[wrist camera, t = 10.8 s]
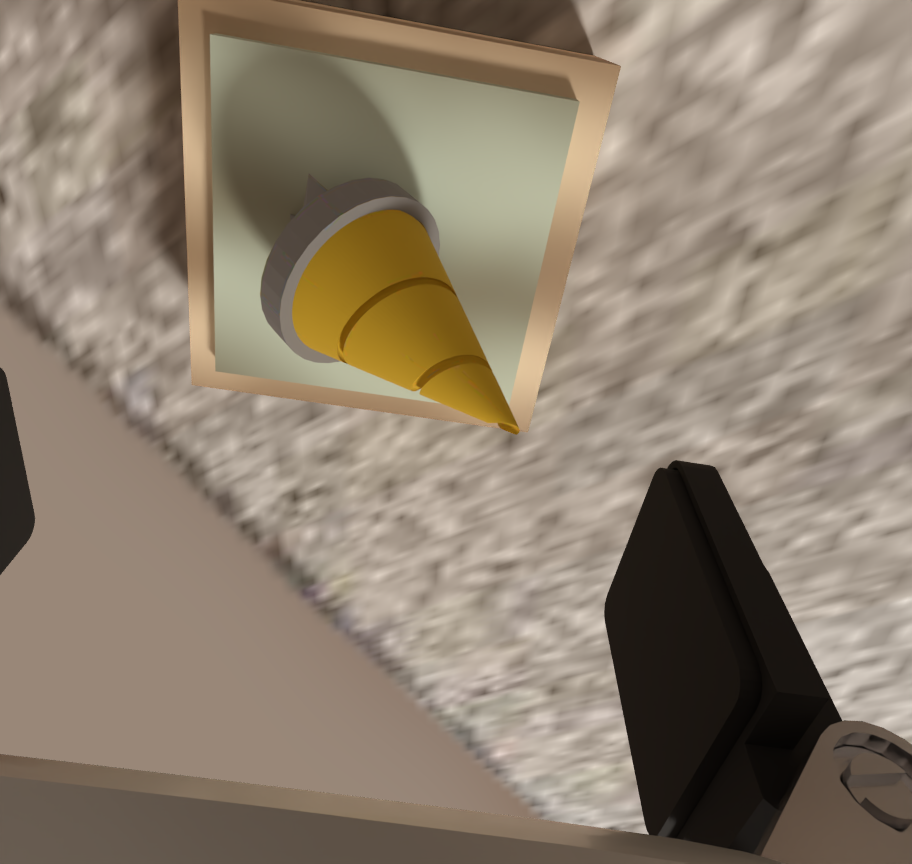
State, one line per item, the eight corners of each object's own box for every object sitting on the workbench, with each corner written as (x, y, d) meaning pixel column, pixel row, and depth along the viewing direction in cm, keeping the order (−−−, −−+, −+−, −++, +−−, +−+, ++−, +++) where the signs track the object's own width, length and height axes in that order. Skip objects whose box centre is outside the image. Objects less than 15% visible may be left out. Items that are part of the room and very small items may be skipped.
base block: (224, -15, 22) (169, -18, 18) (594, 55, 23) (625, 68, 19) (226, 333, 28) (186, 393, 24) (518, 377, 29) (529, 440, 25)
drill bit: (356, 98, 20) (619, 302, 16) (368, 246, 24) (576, 435, 20) (181, 170, 18) (432, 427, 14) (230, 317, 22) (430, 544, 18)
